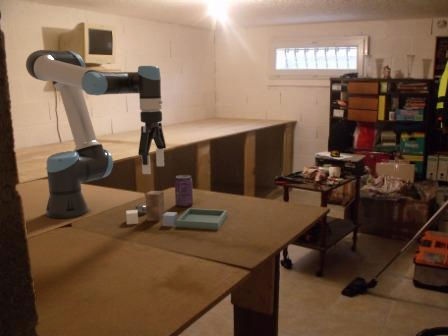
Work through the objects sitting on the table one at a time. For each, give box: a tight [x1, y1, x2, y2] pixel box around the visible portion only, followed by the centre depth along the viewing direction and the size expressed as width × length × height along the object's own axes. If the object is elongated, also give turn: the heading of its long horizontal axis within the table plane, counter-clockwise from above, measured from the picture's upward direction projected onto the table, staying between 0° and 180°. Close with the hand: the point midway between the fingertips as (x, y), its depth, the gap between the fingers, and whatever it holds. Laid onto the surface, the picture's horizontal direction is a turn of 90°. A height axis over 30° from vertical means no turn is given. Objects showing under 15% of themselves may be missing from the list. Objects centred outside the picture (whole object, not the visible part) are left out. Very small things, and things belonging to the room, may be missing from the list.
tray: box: [175, 207, 228, 231], centre depth 156 cm, size 15×15×2 cm
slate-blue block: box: [162, 211, 179, 227], centre depth 154 cm, size 4×4×4 cm
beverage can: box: [174, 174, 194, 208], centre depth 176 cm, size 7×7×12 cm
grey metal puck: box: [134, 203, 147, 216], centre depth 167 cm, size 5×5×3 cm
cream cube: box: [125, 209, 139, 225], centre depth 157 cm, size 4×4×4 cm
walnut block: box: [144, 190, 165, 222], centre depth 159 cm, size 5×5×10 cm
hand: (153, 169), depth 157 cm, fingers open, 13 cm apart
